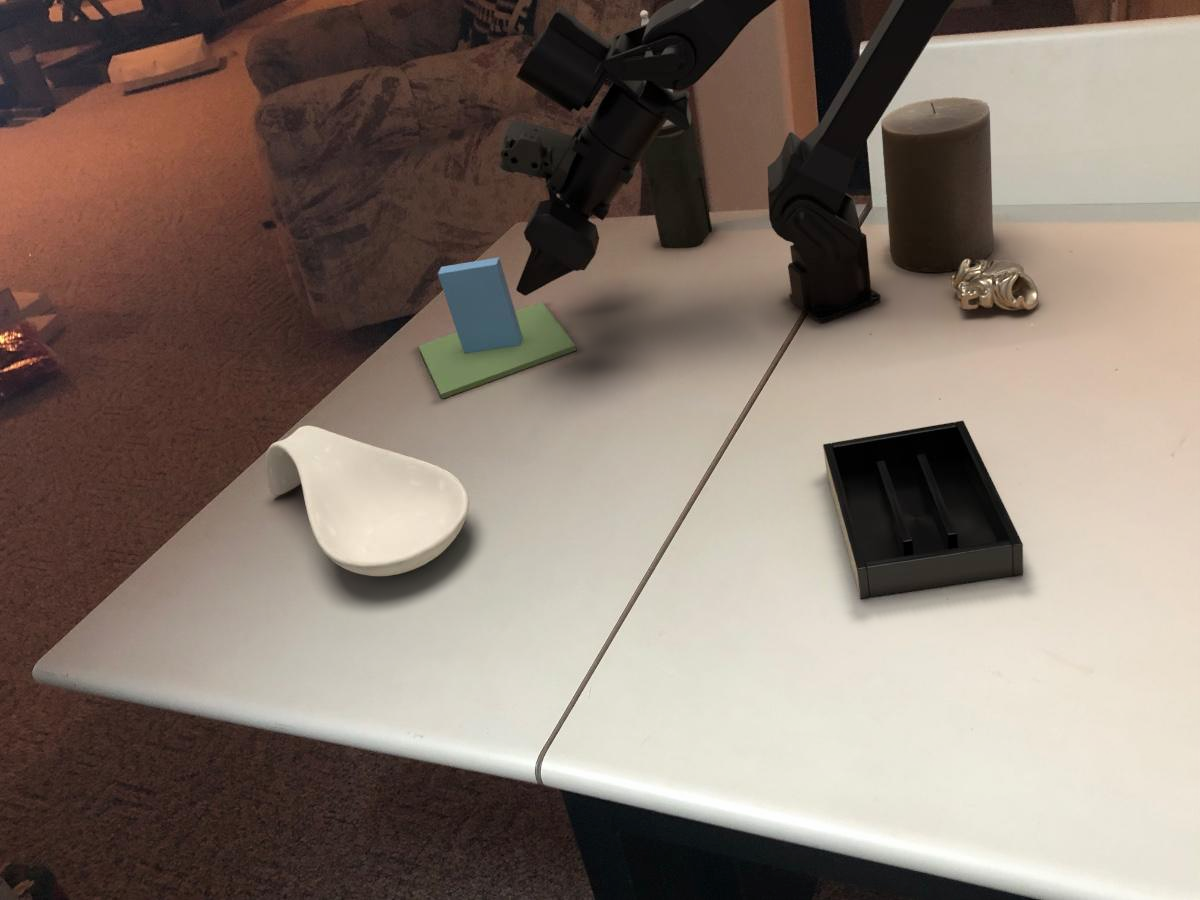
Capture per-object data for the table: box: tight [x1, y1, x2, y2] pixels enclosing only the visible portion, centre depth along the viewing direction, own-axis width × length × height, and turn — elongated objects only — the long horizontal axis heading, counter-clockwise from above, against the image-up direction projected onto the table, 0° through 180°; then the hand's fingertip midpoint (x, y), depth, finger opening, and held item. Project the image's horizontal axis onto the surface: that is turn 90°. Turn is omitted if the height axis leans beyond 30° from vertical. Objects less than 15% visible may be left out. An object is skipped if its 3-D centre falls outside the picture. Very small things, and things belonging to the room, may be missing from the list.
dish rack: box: [822, 420, 1024, 600], centre depth 73 cm, size 14×10×4 cm
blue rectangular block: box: [437, 257, 523, 353], centre depth 108 cm, size 6×2×9 cm, turn 84°
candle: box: [639, 9, 713, 248], centre depth 116 cm, size 5×5×25 cm
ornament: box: [950, 259, 1040, 312], centre depth 95 cm, size 8×7×4 cm
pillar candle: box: [880, 96, 994, 273], centre depth 103 cm, size 10×10×15 cm
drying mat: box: [418, 301, 577, 400], centre depth 110 cm, size 14×12×1 cm
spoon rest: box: [265, 425, 470, 577], centre depth 87 cm, size 24×12×7 cm, turn 46°
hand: (528, 270), depth 105 cm, fingers open, 9 cm apart
